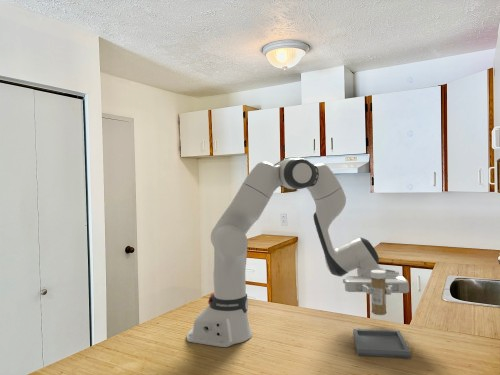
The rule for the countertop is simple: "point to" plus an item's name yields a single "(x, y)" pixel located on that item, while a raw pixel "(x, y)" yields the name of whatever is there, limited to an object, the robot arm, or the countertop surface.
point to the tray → (380, 343)
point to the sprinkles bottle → (378, 292)
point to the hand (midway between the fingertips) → (379, 291)
